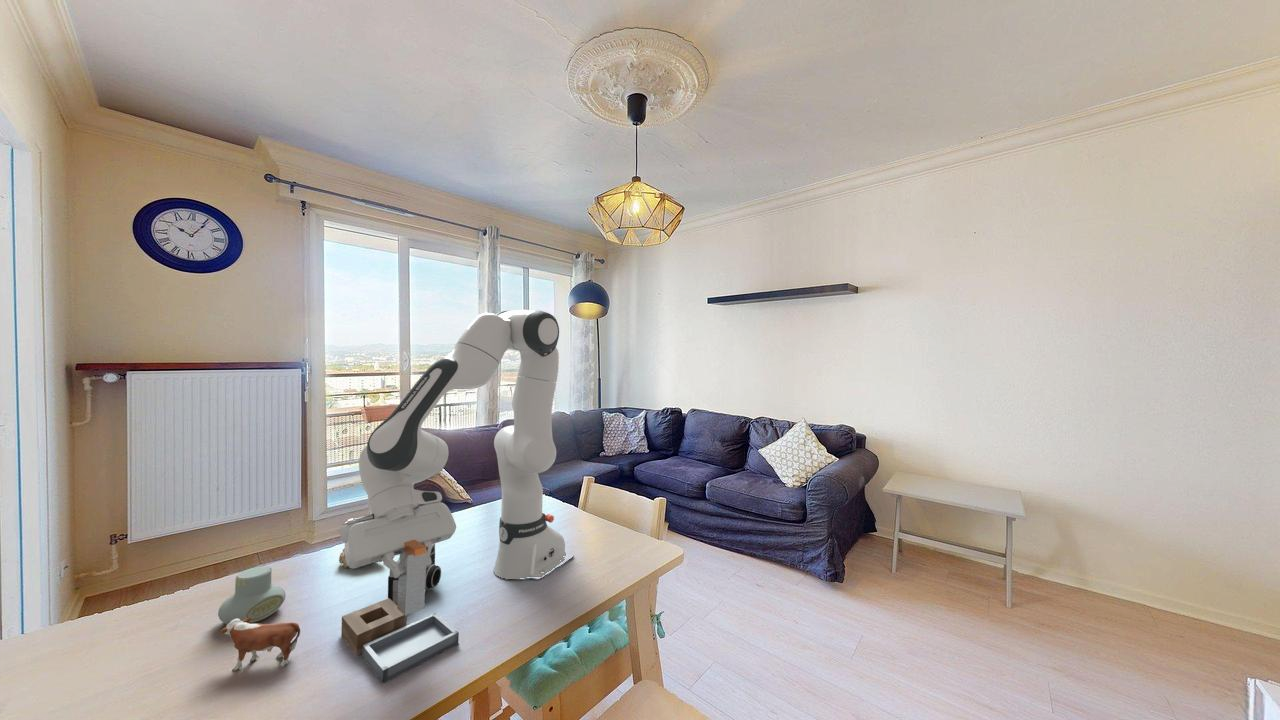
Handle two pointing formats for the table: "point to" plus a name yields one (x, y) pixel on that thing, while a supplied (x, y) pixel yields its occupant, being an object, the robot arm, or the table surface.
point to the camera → (431, 580)
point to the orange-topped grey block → (412, 578)
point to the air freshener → (252, 597)
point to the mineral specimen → (343, 561)
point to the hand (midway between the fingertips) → (413, 571)
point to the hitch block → (371, 624)
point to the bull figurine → (261, 638)
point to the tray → (409, 646)
